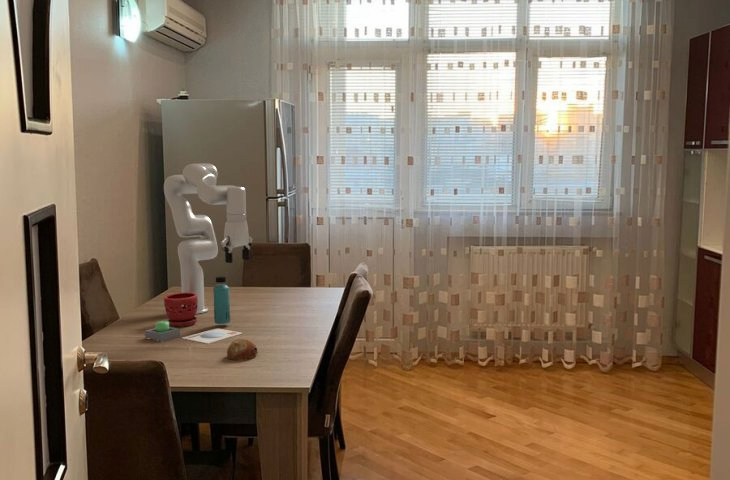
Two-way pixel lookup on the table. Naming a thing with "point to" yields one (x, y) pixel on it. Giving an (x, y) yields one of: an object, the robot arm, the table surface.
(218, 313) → the beverage bottle
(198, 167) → the robot arm
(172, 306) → the plant pot
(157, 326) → the button
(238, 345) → the bread roll
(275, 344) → the table surface
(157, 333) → the button housing
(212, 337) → the drawing sheet
